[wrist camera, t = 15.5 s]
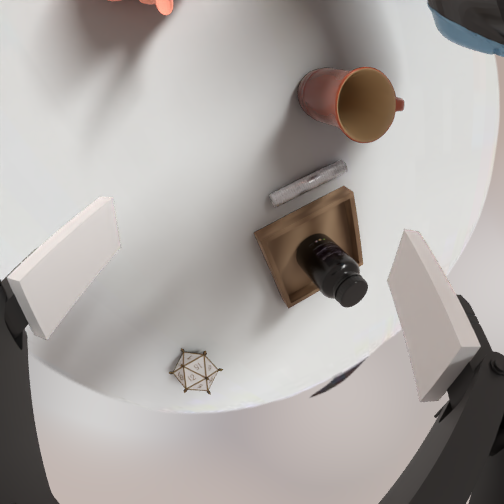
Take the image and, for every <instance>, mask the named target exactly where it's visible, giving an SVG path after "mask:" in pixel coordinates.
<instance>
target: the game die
mask: <svg viewBox="0 0 504 504" xmlns="http://www.w3.org/2000/svg"><path fill="white" fill-rule="evenodd" d="M181 351H182V352H183V354H182V356H181V358H180V360H179V362H178V363H177V365H176V367H175V369H174V371H173V372H172V371H170V372H169V374H174V375H175V376H176V378H177V379H178V380H179V381H180V383H181V384H182V385H183V386H184V388H185V389H184V393H185V392H187V390H200V391H207V393H208V394H210V391H209V388H210V386H211V384H212V382H213V380H214V378H215V376H216V374H217V372H218V371H222V370H223V369H220V368H219V369H217V368H216V366H215V365H214V364H213V363H212V362H211V361H210V360H209V359H208V358H207V357H206V356H205V355H206V354H207V353H206V351H204V353H203V354H197V353H189V352H184V349H182V348H181ZM210 395H211V394H210Z"/></svg>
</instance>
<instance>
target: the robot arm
mask: <svg viewBox="0 0 504 504" xmlns="http://www.w3.org/2000/svg"><path fill="white" fill-rule="evenodd" d="M427 5H428V7H429V8H430V10H431V12H432V15H433V18H434V21H435V24H436V27H437V29H438V30H439V31H440V33H441V34H442V35H443V36H444V37H445V38H447V39H448V40H450V41H452V42H454V43H456V44H458V45H460V46H463V47H466V48H469V49H472V50H475V51H479V52H483V53H486V54H496V55H499V56H502V57H504V0H427ZM120 249H121V242H120V237H119V231H118V225H117V219H116V213H115V206H114V199H113V197H99V198H98V199H97V200H95V201H94V202H93V203H91V204H90V205H89V206H88V207H86V208H85V209H84V210H82V211H81V212H80V213H79V214H77V215H76V216H75V217H74V218H72V219H71V220H70V221H69V222H67V223H66V224H65V225H64V226H63V227H61V228H60V229H59V230H58V231H57V232H55V233H54V234H53V235H52V236H51V237H50V238H49V239H47V240H46V241H45V242H44V243H43V244H42V245H41V246H39V247H38V248H36V249H35V250H34V251H33V252H32V253H31V254H30V255H29V256H28V257H26V258H25V259H24V260H23V261H22V263H20V264H19V265H18V266H17V267H16V268H15V269H14V270H13V271H12V272H11V273H10V274H9V275H8V276H7V277H6V278H5V279H4V280H3V281H2V282H1V280H0V504H59V503H58V502H57V500H56V499H55V498H54V496H53V495H52V493H51V490H50V487H49V484H48V480H47V477H46V473H45V469H44V465H43V461H42V457H41V452H40V448H39V443H38V438H37V433H36V427H35V421H34V414H33V408H32V400H31V390H30V380H29V367H28V345H27V333H26V331H25V327H26V326H27V325H28V324H29V326H30V328H31V330H32V332H33V333H34V335H36V336H38V337H41V338H43V339H46V340H48V339H49V337H50V336H51V334H52V333H53V332H54V330H55V329H56V328H57V326H58V325H59V324H60V322H61V321H62V320H63V318H64V317H65V316H66V314H67V313H68V312H69V310H70V309H71V308H72V306H73V305H74V304H75V303H76V301H77V300H78V299H79V298H80V296H81V295H82V294H83V293H84V291H85V290H86V289H87V288H88V286H89V285H90V284H91V283H92V281H93V280H94V279H95V278H96V277H97V275H98V274H99V273H100V272H101V271H102V269H103V268H104V267H105V266H106V265H107V264H108V262H109V261H110V260H111V259H112V258H113V257H114V255H115V254H116V253H117V252H118V251H119V250H120ZM387 282H388V285H389V288H390V291H391V294H392V297H393V300H394V303H395V307H396V310H397V313H398V317H399V320H400V323H401V327H402V330H403V334H404V337H405V341H406V345H407V349H408V352H409V357H410V361H411V365H412V368H413V373H414V377H415V382H416V386H417V391H418V396H419V401H420V402H427V401H438V400H439V399H440V398H441V397H442V396H443V395H444V394H445V392H446V391H447V392H448V395H449V401H448V402H447V403H446V404H445V405H444V406H443V407H442V408H441V409H440V410H439V411H438V412H437V414H436V415H435V416H434V417H435V418H436V417H438V418H437V420H436V422H435V423H434V425H433V427H432V428H431V430H430V432H429V434H428V435H427V437H426V438H425V440H424V442H423V443H422V445H421V446H420V448H419V449H418V451H417V453H416V454H415V456H414V457H413V459H412V460H411V461H410V463H409V465H408V466H407V467H406V469H405V470H404V471H403V473H402V474H401V476H400V477H399V478H398V480H397V481H396V482H395V484H394V485H393V486H392V488H391V489H390V490H389V491H388V493H387V494H386V495H385V496H384V498H383V499H382V500H381V501H380V502H379V504H466V502H467V500H468V499H469V497H470V495H471V497H470V500H469V504H504V356H503V355H502V354H500V353H498V352H493V351H492V349H491V347H490V345H489V342H488V340H487V338H486V336H485V334H484V332H483V330H482V328H481V326H480V324H479V322H478V319H477V317H476V316H475V314H474V312H473V310H472V308H471V306H470V304H469V303H468V302H467V301H466V300H465V299H464V298H463V297H462V296H461V295H456V294H455V292H454V290H453V288H452V286H451V285H450V283H449V281H448V279H447V277H446V275H445V274H444V272H443V270H442V268H441V267H440V265H439V263H438V261H437V260H436V258H435V256H434V255H433V253H432V251H431V250H430V248H429V246H428V245H427V243H426V242H425V240H424V238H423V237H422V235H421V234H420V232H419V231H413V230H407V229H404V231H403V234H402V238H401V241H400V244H399V247H398V250H397V253H396V256H395V259H394V262H393V265H392V268H391V271H390V274H389V277H388V279H387ZM471 493H472V494H471Z"/></svg>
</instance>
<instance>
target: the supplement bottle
mask: <svg viewBox="0 0 504 504" xmlns="http://www.w3.org/2000/svg"><path fill="white" fill-rule="evenodd" d="M296 260H297V263H298V265H299V266H300V267H301V269H302V270H303V271H304V272H305V273H306V275H307V276H308V277H309V278H310V279H311V281H312V282H313V283H314V284H315V285H316V287H317V288H318V289H319V290H320V291H321V292H322V294H323V295H324V296H326V297H328V298H335V299H336V300H337V301H338V302H339V303H340V304H341V305H342V306H344V307H352V306H354V305H355V304H357V303H358V302H359V301H360V300H362V298H363V297H364V296H365V294H366V292H367V289H368V285H367V282H366V281H365V280H364V279H363V278H362V276H361V275H360V270H359V266H358V264H357V263H356V262H355V260H353V259H352V258H351V257H350V256H349V255H348V254H347V253H346V252H345V251H344V250H343V249H342V248H341V247H340V246H338V245H337V244H336V243H335V242H334V241H333V240H332V239H331V238H330V237H328V236H327V235H325V234H322V233H317V234H313V235H310V236H308V237H307V238H306V239H304V240H303V241H302V243H301V244H300V245H299V247H298V249H297V253H296Z"/></svg>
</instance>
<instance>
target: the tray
mask: <svg viewBox="0 0 504 504" xmlns="http://www.w3.org/2000/svg"><path fill="white" fill-rule="evenodd" d="M317 233H322V234H325V235H327V236H328V237H330V238H331V239H332V240H333V241H334V242H335V243H336V244H337V245H338V246H340V247H341V248H342V249H343V250H344V251H345V252H346V253H347V254H348V255H349V256H350V257H351V258H352V259H353V260H355V262H356V263H357V264H358V266H359V267H360V266H361V265H363V258H362V250H361V241H360V234H359V226H358V219H357V212H356V206H355V200H354V194H353V192H352V191H351V190H349V189H348V188H346V187H345V186H342V187H340V188H338V189H337V190H335V191H333V192H331V193H329V194H327V195H325V196H323V197H321V198H319V199H317V200H315V201H313V202H311V203H309V204H308V205H306V206H304V207H302V208H300V209H298V210H296V211H294V212H292V213H290V214H288V215H286V216H285V217H283V218H281V219H279V220H277V221H275V222H273V223H271V224H269V225H267V226H266V227H264V228H262V229H260V230H258V231H256V232H254V235H255V237H256V239H257V241H258V244H259V246H260V248H261V251H262V253H263V255H264V258H265V260H266V262H267V265H268V267H269V269H270V271H271V274H272V276H273V278H274V281H275V283H276V285H277V288H278V290H279V292H280V295H281V297H282V299H283V301H284V302H285V304H286V305H287V307H288V308H290V307H292V306H294V305H295V304H297V303H299V302H301V301H302V300H304V299H306V298H308V297H309V296H311V295H313V294H315V293H316V292H318V291H320V290H319V289H318V288H317V287H316V285H315V284H314V283H313V282H312V281H311V279H310V278H309V277H308V276H307V275H306V273H305V272H304V271H303V270H302V269H301V267H300V266H299V265H298V263H297V260H296V253H297V249H298V247H299V245H300V244H301V243H302V241H303V240H304V239H306V238H307V237H308V236H310V235H313V234H317Z"/></svg>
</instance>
